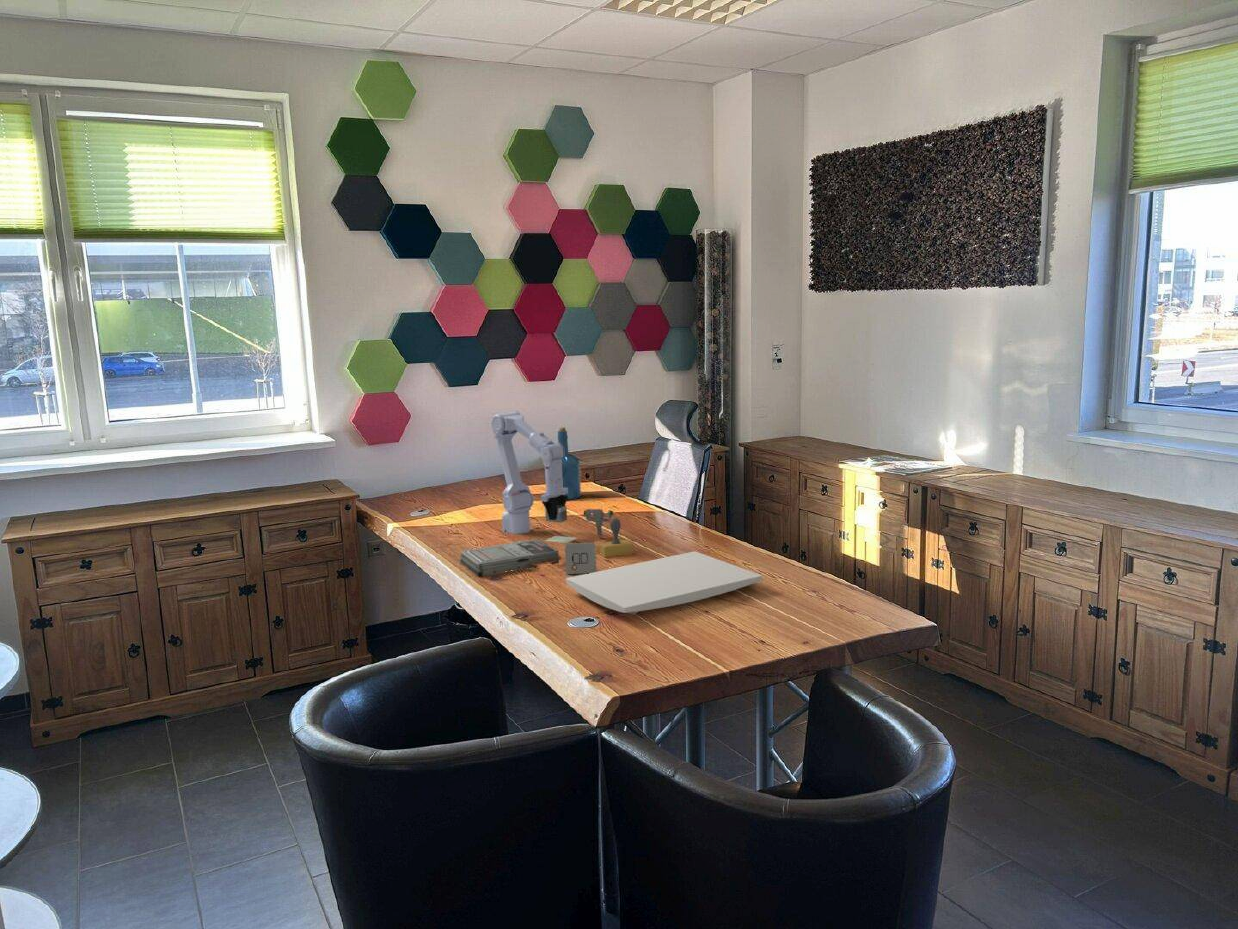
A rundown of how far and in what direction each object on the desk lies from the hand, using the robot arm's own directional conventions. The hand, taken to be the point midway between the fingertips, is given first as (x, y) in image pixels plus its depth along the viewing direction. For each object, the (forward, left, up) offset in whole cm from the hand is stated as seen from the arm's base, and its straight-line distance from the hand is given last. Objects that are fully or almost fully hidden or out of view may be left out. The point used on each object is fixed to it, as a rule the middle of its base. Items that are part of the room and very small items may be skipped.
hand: (556, 518), depth 315 cm
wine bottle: (-36, +67, -9) cm, 77 cm away
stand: (+1, +1, -9) cm, 9 cm away
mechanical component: (+10, +12, -9) cm, 18 cm away
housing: (0, 0, -1) cm, 1 cm away
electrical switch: (+24, -26, -9) cm, 36 cm away
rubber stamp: (+25, -4, -10) cm, 27 cm away
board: (+56, -35, -10) cm, 67 cm away
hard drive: (-3, -25, -10) cm, 27 cm away
